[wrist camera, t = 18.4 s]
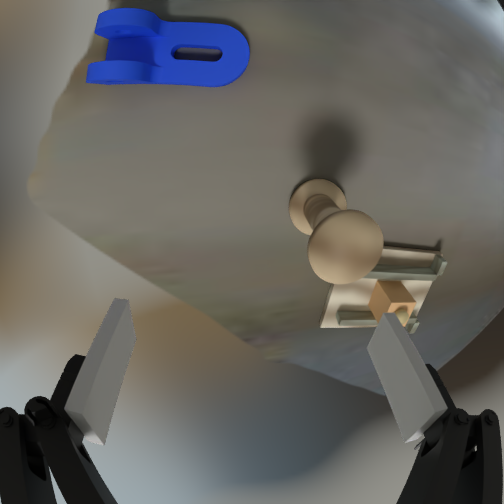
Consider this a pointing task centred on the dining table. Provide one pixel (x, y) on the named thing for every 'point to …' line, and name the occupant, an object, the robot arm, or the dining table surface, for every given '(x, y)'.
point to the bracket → (165, 51)
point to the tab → (391, 300)
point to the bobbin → (335, 232)
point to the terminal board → (387, 269)
